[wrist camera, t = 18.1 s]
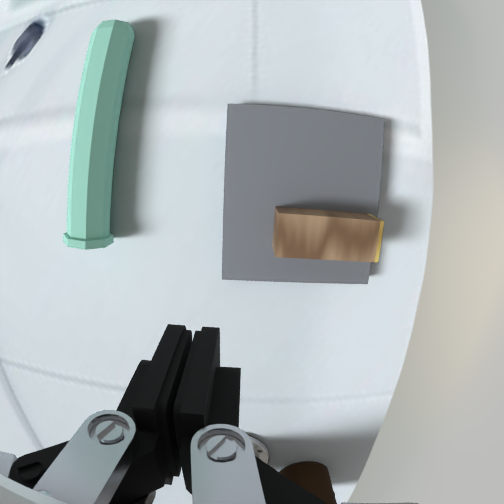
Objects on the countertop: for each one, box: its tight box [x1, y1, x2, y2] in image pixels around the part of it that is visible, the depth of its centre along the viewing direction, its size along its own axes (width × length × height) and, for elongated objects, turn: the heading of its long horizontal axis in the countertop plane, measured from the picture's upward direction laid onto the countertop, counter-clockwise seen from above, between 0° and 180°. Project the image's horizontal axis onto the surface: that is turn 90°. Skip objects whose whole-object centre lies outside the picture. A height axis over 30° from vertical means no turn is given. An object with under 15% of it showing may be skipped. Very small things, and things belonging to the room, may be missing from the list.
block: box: [272, 207, 384, 262], centre depth 31 cm, size 4×4×10 cm
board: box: [222, 104, 384, 284], centre depth 33 cm, size 18×16×2 cm
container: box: [63, 20, 135, 250], centre depth 29 cm, size 6×6×25 cm
